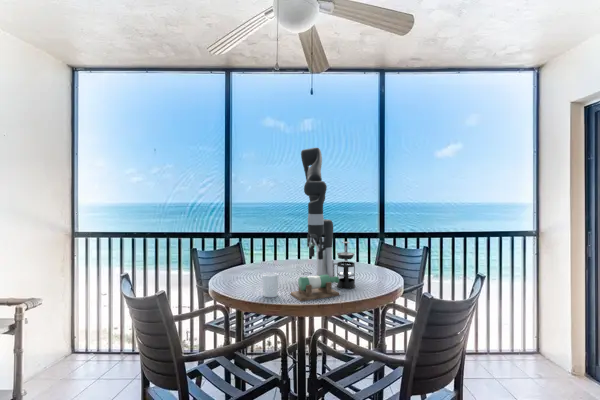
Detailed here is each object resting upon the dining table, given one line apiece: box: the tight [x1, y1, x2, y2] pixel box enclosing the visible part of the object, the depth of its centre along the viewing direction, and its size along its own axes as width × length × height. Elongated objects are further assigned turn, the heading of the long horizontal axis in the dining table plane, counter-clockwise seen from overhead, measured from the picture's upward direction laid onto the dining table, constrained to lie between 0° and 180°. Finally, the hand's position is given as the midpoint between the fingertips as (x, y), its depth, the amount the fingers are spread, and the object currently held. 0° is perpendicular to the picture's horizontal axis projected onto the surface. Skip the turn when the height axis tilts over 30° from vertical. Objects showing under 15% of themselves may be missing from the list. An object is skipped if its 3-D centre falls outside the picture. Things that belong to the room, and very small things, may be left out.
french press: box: [333, 241, 356, 290], centre depth 170 cm, size 12×9×23 cm
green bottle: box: [297, 274, 340, 291], centre depth 156 cm, size 20×6×6 cm, turn 115°
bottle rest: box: [290, 282, 340, 302], centre depth 155 cm, size 20×11×6 cm, turn 114°
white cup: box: [261, 271, 280, 298], centre depth 155 cm, size 8×8×10 cm
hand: (316, 257), depth 155 cm, fingers open, 8 cm apart
